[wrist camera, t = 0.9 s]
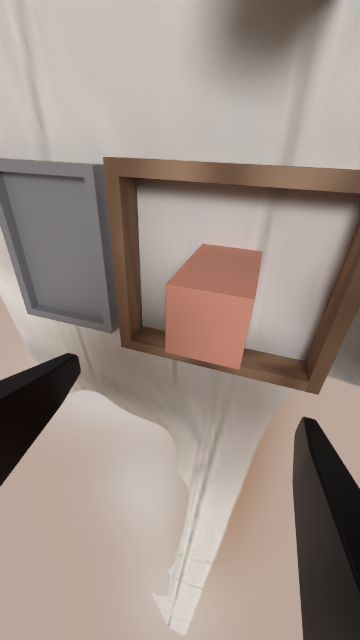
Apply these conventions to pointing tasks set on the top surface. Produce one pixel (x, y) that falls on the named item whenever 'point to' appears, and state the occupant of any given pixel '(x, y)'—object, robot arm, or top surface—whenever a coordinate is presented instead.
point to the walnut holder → (120, 176)
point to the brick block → (212, 304)
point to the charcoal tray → (60, 240)
